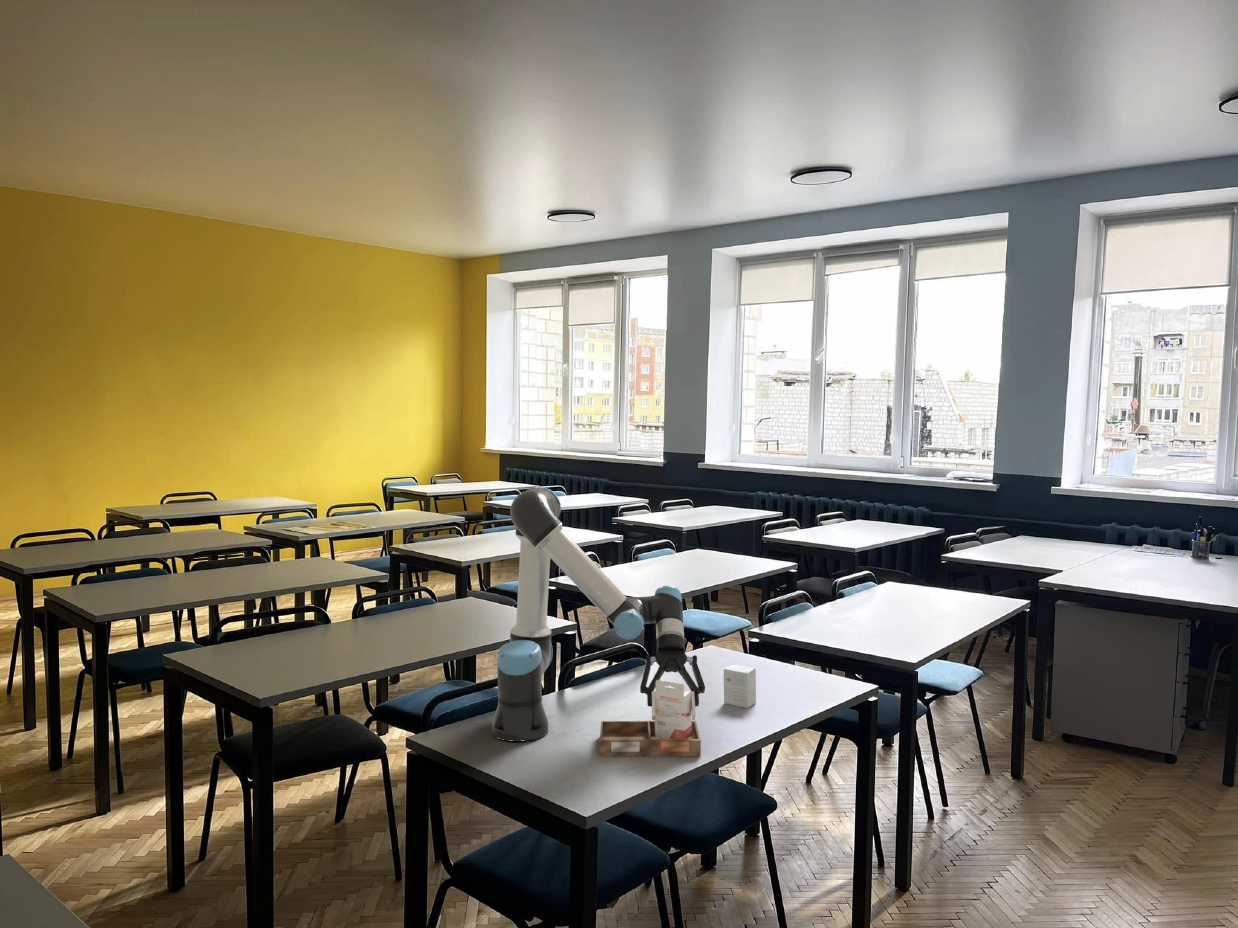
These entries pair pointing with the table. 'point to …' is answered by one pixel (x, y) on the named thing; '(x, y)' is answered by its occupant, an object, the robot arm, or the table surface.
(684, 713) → the ink cartridge box
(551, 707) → the table surface
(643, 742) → the wooden compartment tray
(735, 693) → the small box
